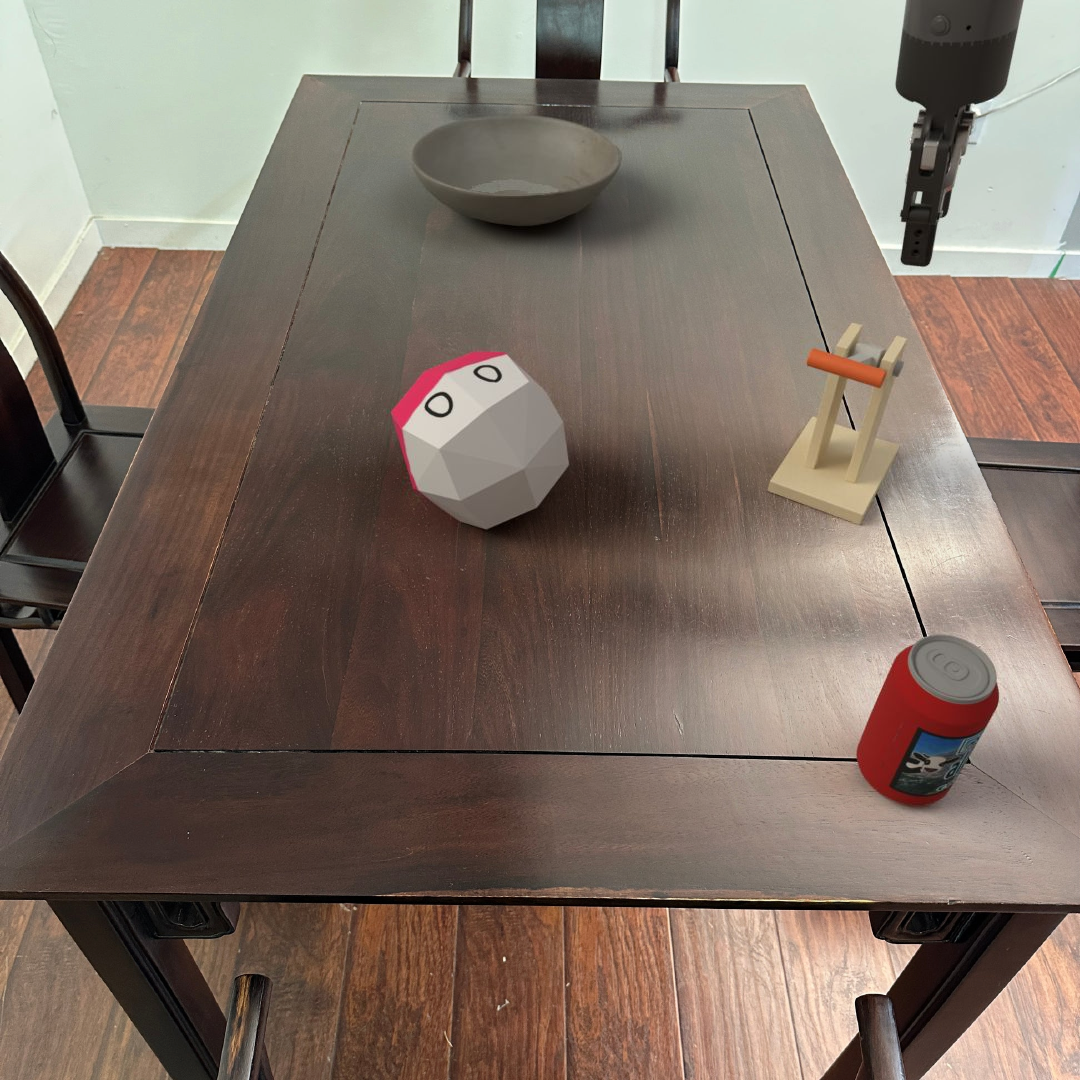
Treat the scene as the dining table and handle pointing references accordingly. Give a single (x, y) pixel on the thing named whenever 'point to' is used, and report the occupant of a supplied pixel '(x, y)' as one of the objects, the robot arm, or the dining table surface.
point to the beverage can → (927, 719)
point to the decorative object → (481, 438)
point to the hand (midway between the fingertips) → (924, 238)
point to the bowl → (515, 166)
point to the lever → (853, 364)
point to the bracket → (842, 445)
